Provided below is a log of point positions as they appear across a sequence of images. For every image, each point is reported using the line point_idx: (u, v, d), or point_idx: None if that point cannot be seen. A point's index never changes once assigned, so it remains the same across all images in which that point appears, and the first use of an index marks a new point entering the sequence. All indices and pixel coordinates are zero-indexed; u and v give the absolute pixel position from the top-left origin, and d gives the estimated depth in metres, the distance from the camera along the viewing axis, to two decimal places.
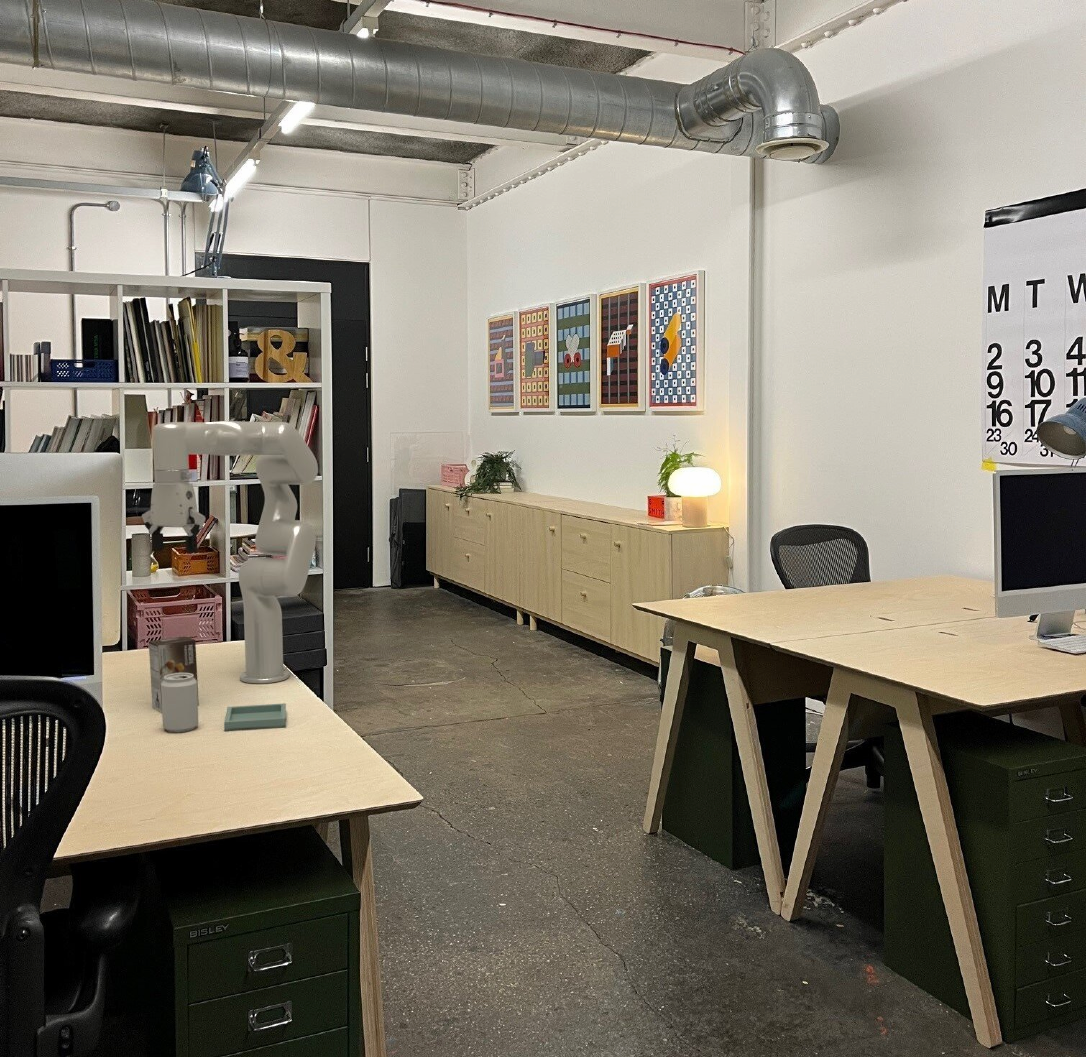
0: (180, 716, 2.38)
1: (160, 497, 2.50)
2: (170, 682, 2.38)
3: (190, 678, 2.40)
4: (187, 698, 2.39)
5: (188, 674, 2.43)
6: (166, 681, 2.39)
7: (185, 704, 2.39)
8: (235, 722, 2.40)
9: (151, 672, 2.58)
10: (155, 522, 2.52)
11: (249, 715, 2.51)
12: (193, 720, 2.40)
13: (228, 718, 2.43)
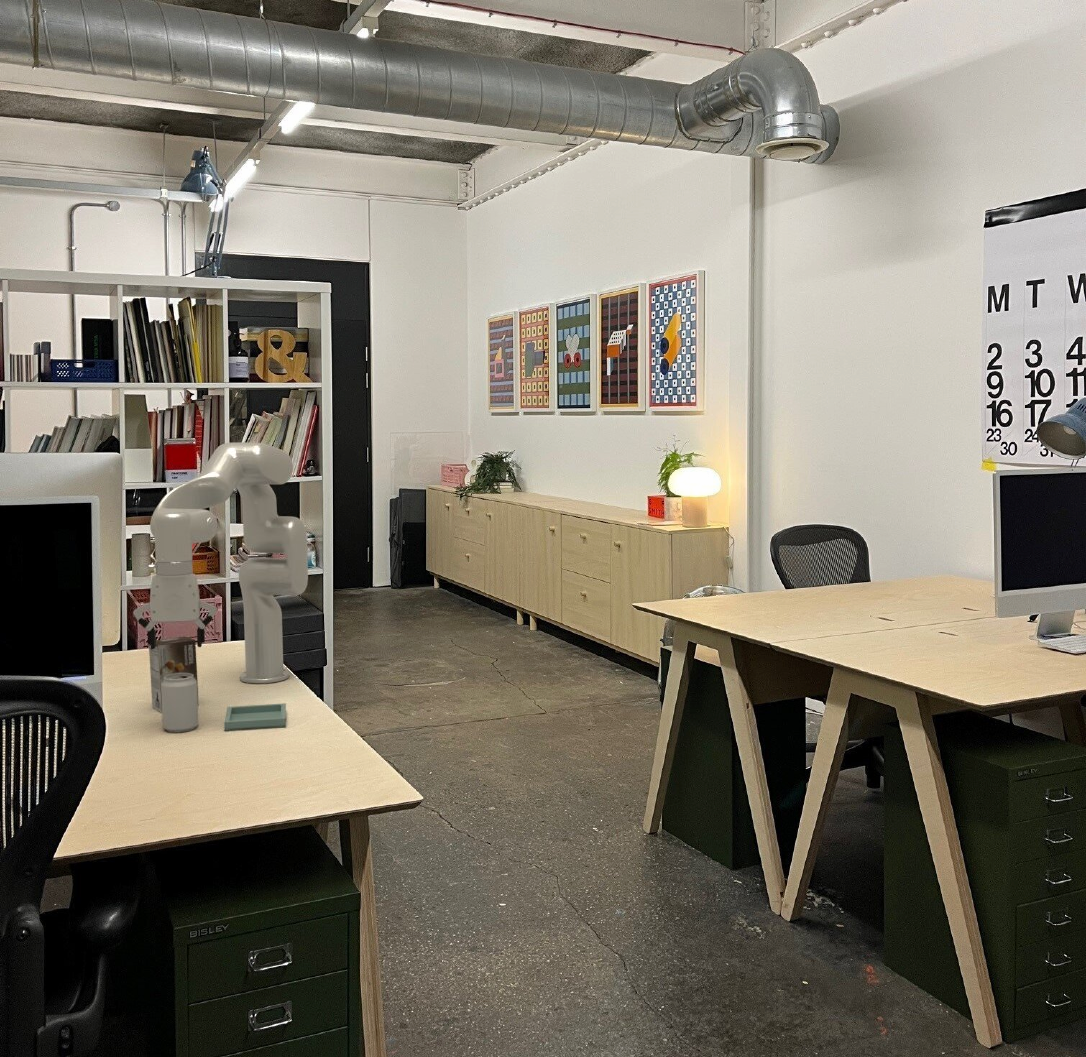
0: (180, 716, 2.38)
1: None
2: (170, 682, 2.38)
3: (190, 678, 2.40)
4: (187, 698, 2.39)
5: (188, 674, 2.43)
6: (166, 681, 2.39)
7: (185, 704, 2.39)
8: (235, 722, 2.40)
9: (151, 672, 2.58)
10: None
11: (249, 715, 2.51)
12: (193, 720, 2.40)
13: (228, 718, 2.43)
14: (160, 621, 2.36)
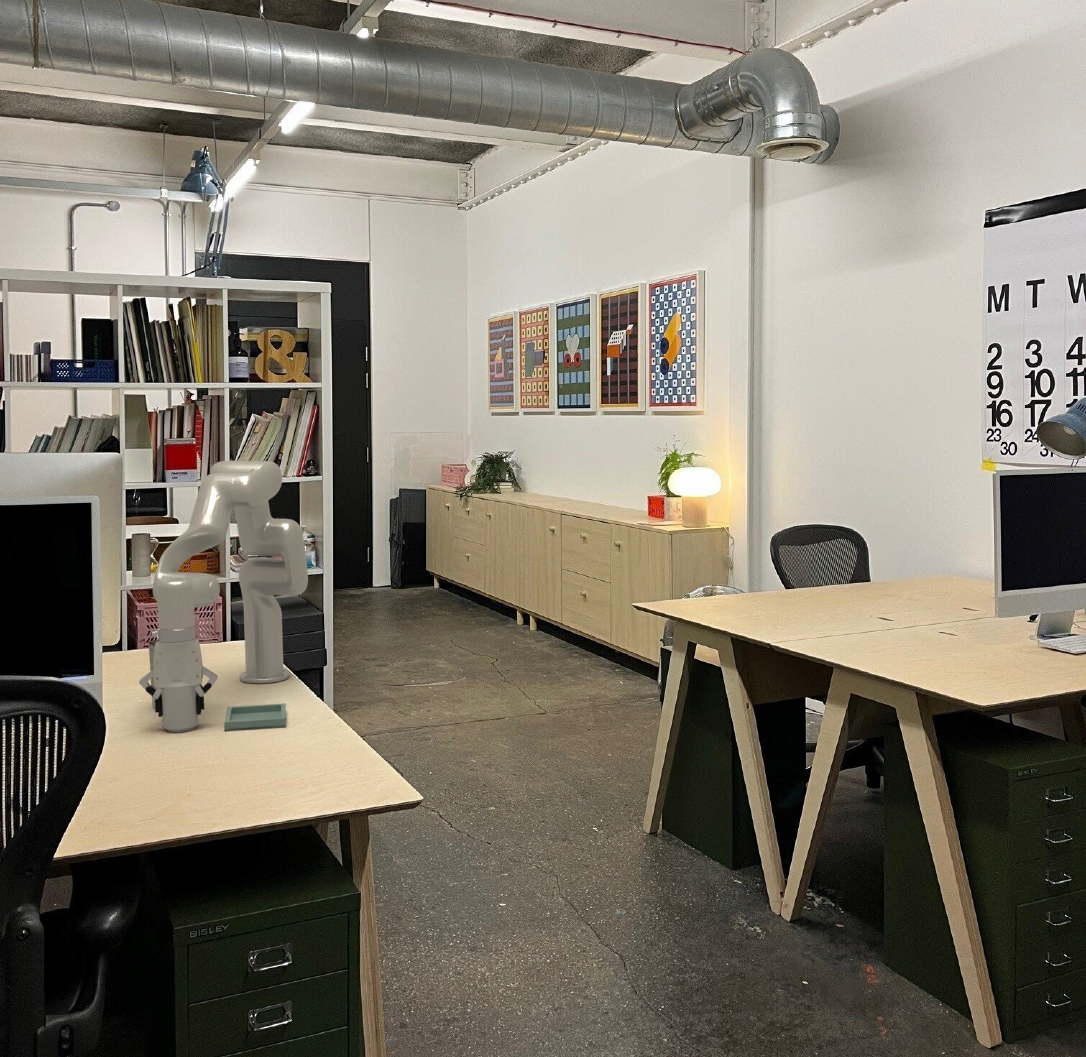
0: (180, 716, 2.38)
1: None
2: None
3: None
4: (187, 698, 2.39)
5: None
6: None
7: (185, 704, 2.39)
8: (235, 722, 2.40)
9: None
10: None
11: (249, 715, 2.51)
12: (193, 720, 2.40)
13: (228, 718, 2.43)
14: (163, 687, 2.38)
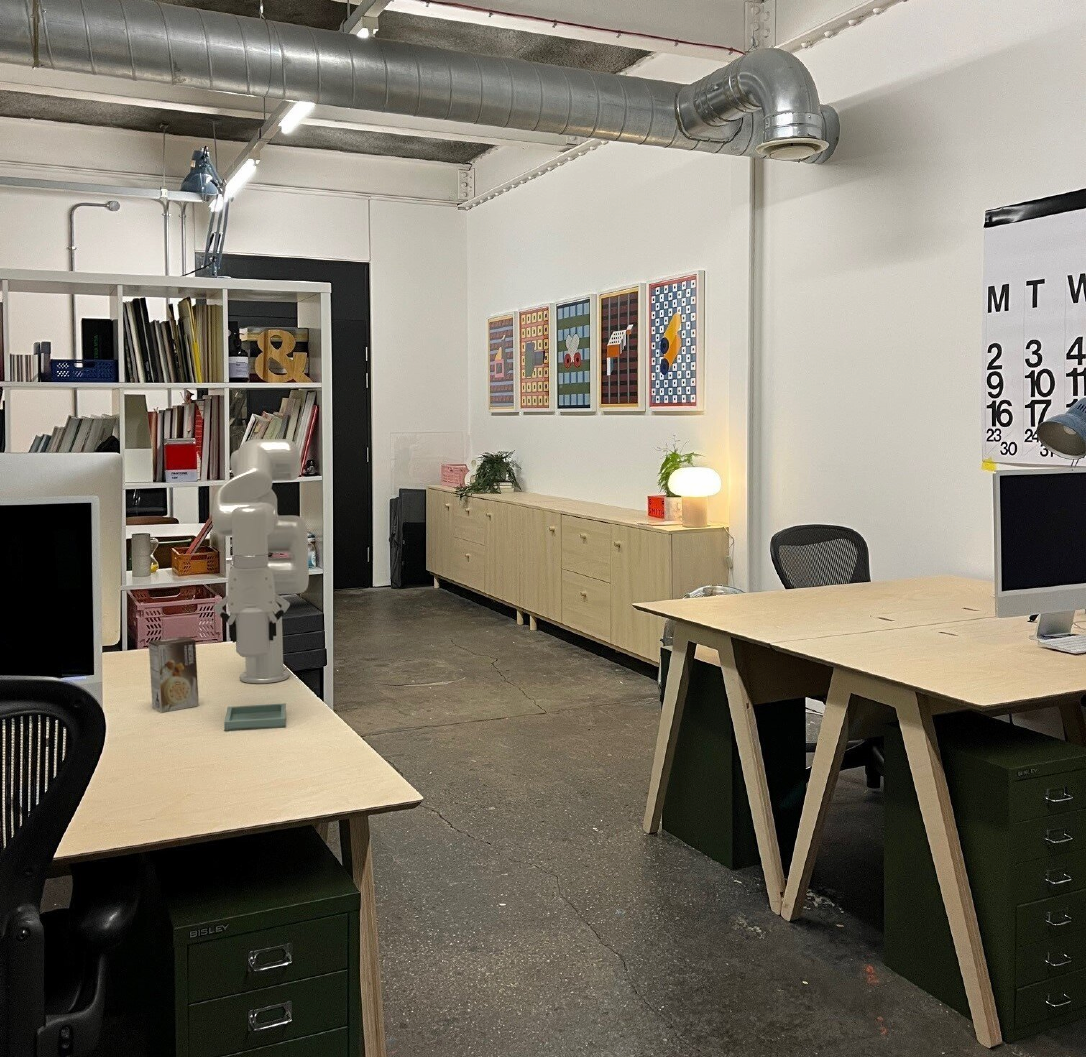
0: (254, 641, 2.42)
1: None
2: None
3: None
4: (261, 624, 2.43)
5: None
6: None
7: (259, 629, 2.43)
8: (235, 722, 2.40)
9: (151, 672, 2.58)
10: None
11: (249, 715, 2.51)
12: (266, 646, 2.44)
13: (228, 718, 2.43)
14: (238, 613, 2.42)
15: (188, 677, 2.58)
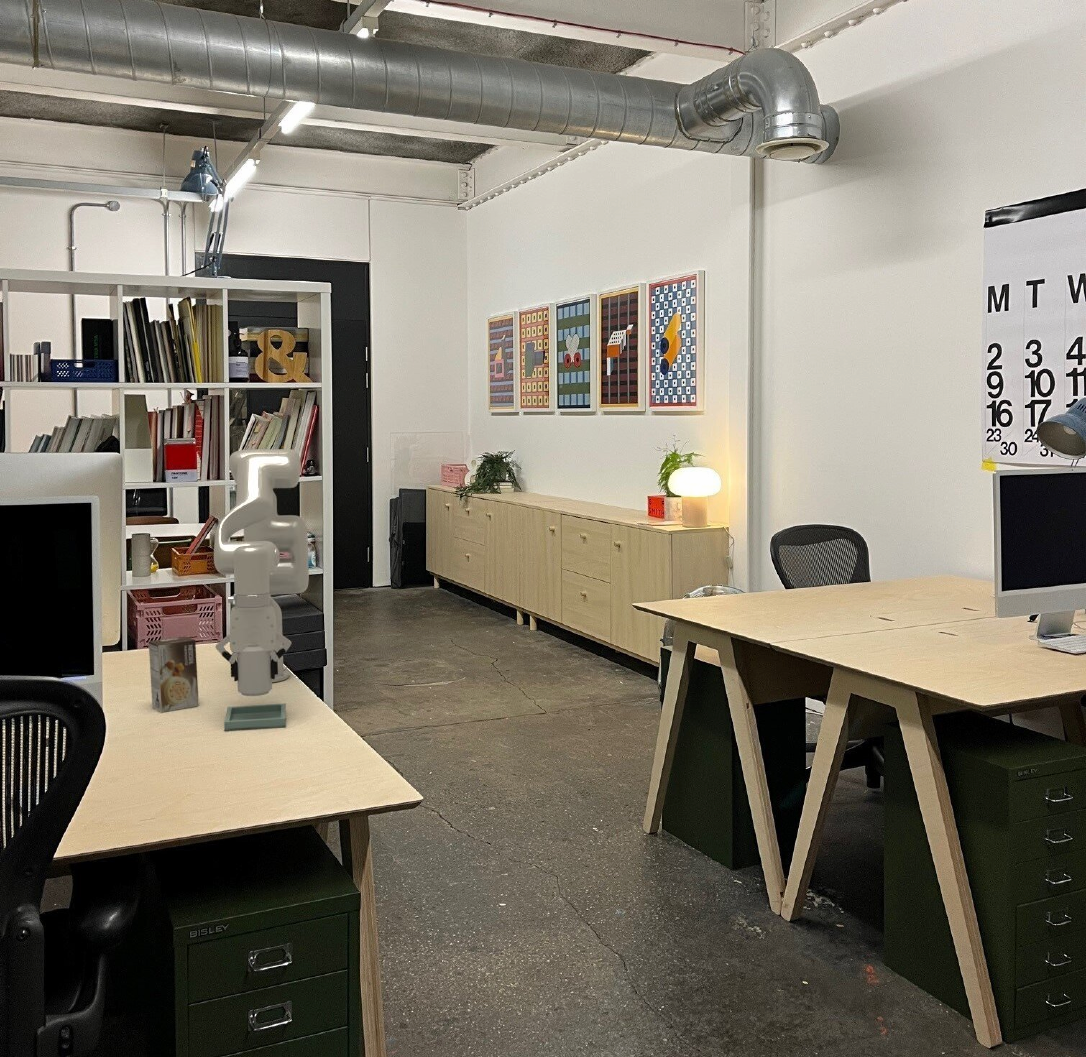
0: (256, 680, 2.43)
1: None
2: None
3: None
4: (262, 663, 2.43)
5: None
6: None
7: (261, 668, 2.43)
8: (235, 722, 2.40)
9: (151, 672, 2.58)
10: None
11: (249, 715, 2.51)
12: (268, 685, 2.45)
13: (228, 718, 2.43)
14: (240, 652, 2.43)
15: (188, 677, 2.58)
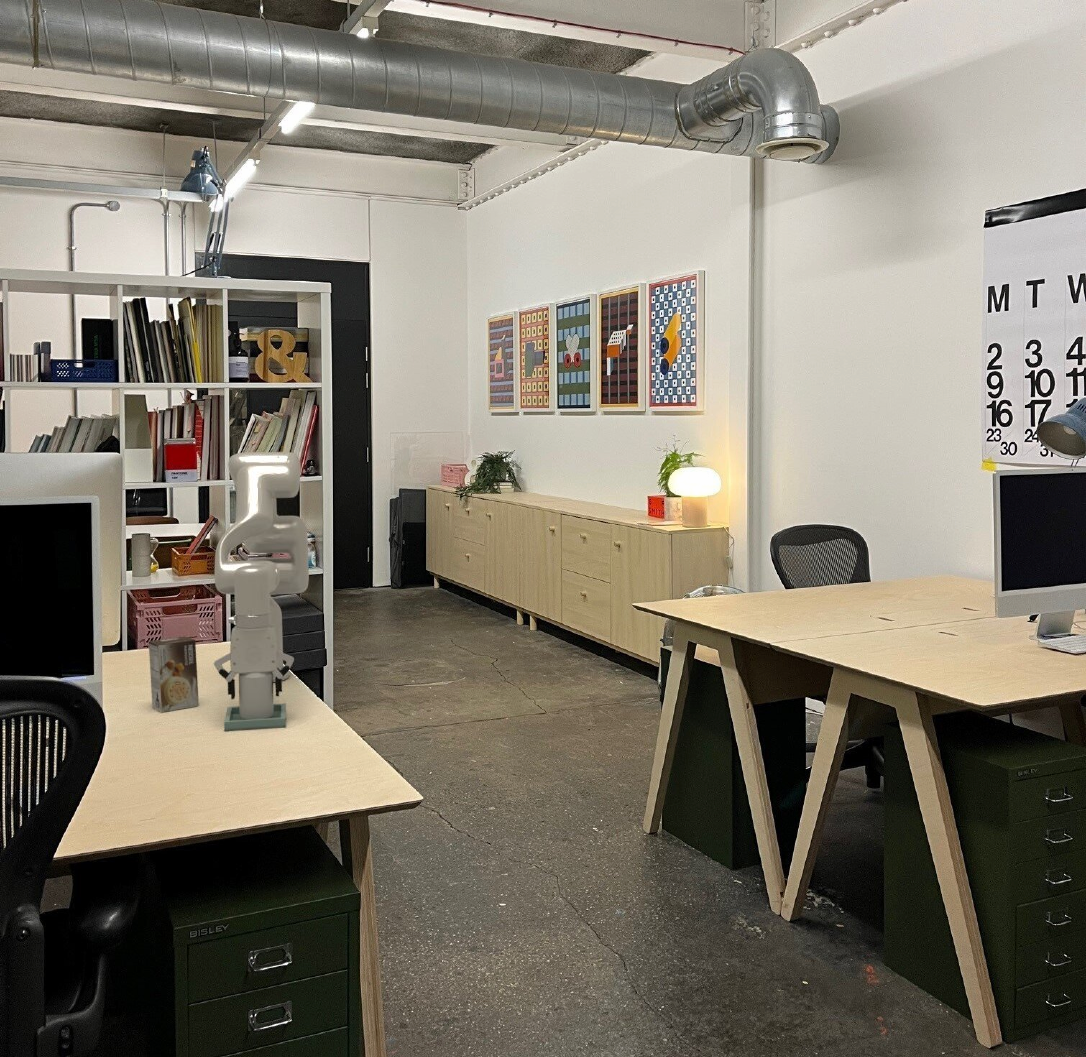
0: (257, 706, 2.44)
1: None
2: (248, 673, 2.44)
3: None
4: (264, 689, 2.44)
5: None
6: None
7: (262, 694, 2.44)
8: (235, 722, 2.40)
9: (151, 672, 2.58)
10: None
11: None
12: (269, 711, 2.46)
13: (228, 718, 2.43)
14: (240, 672, 2.43)
15: (188, 677, 2.58)
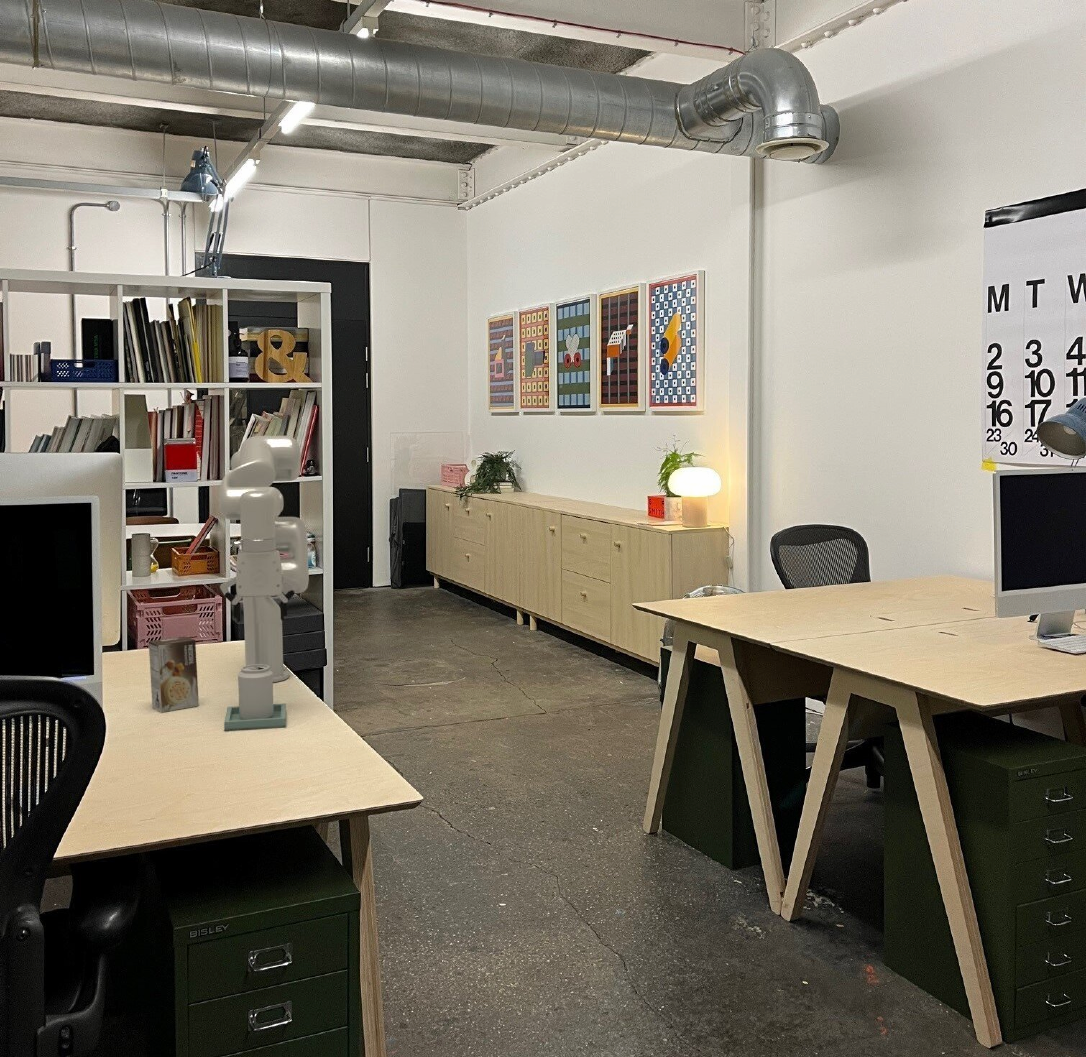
0: (257, 707, 2.44)
1: None
2: (247, 673, 2.44)
3: (266, 669, 2.46)
4: (264, 689, 2.44)
5: (264, 665, 2.49)
6: (243, 672, 2.44)
7: (262, 695, 2.44)
8: (235, 722, 2.40)
9: (151, 672, 2.58)
10: None
11: None
12: (269, 711, 2.46)
13: (228, 718, 2.43)
14: (246, 596, 2.47)
15: (188, 677, 2.58)
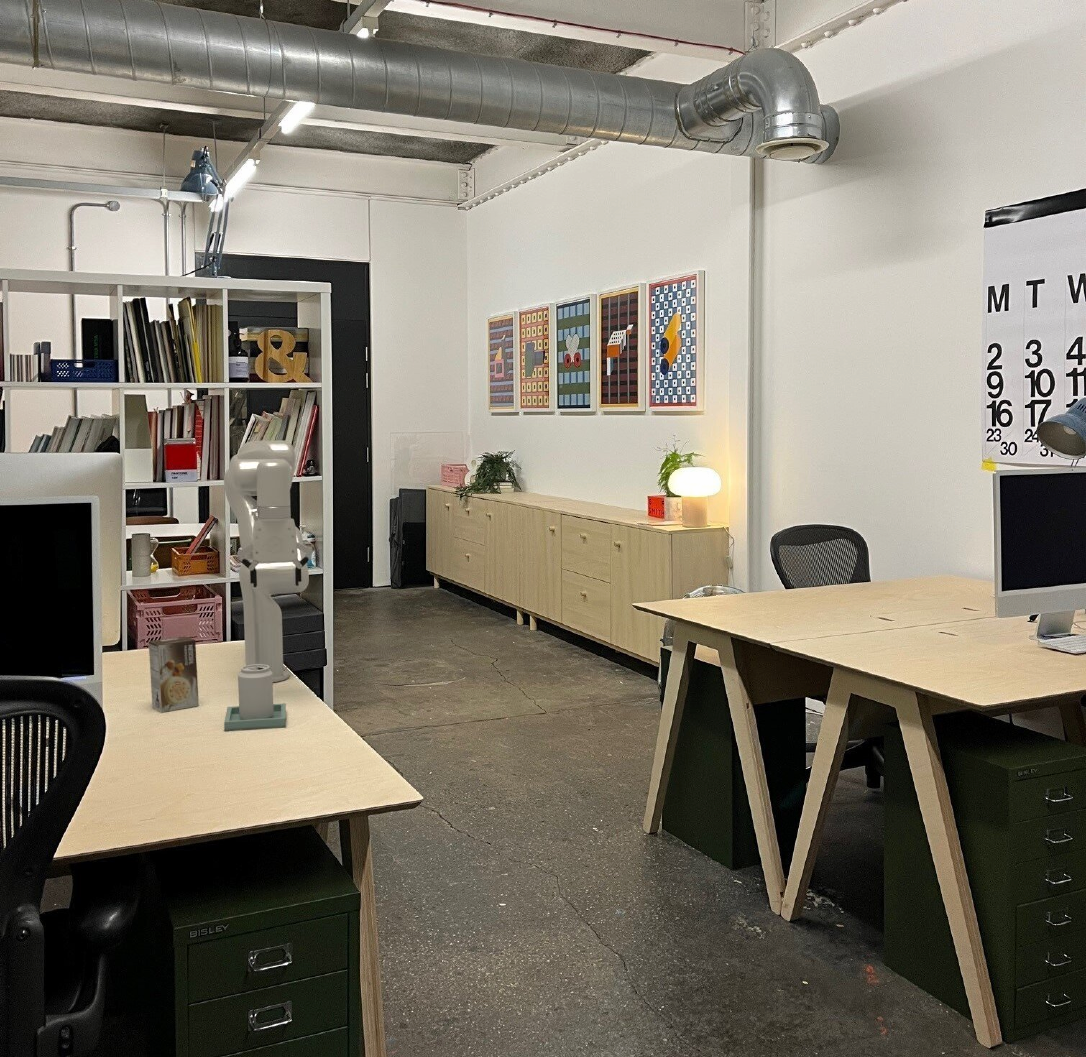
0: (257, 707, 2.44)
1: None
2: (247, 673, 2.44)
3: (266, 669, 2.46)
4: (263, 689, 2.44)
5: (264, 665, 2.49)
6: (243, 672, 2.44)
7: (261, 695, 2.44)
8: (235, 722, 2.40)
9: (151, 672, 2.58)
10: None
11: None
12: (269, 711, 2.46)
13: (228, 718, 2.43)
14: (262, 561, 2.56)
15: (188, 677, 2.58)
